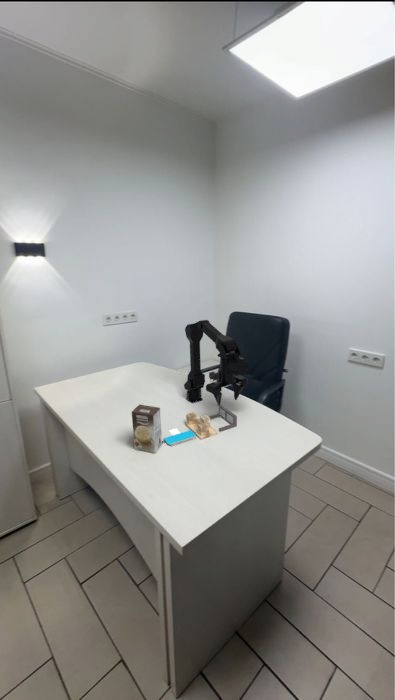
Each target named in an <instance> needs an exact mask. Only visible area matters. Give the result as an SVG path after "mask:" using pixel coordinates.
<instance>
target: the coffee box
mask: <svg viewBox="0 0 395 700" xmlns="http://www.w3.org/2000/svg"><path fill="white" fill-rule="evenodd" d="M161 418H162V417H161V408H160V407H157V406H152V405H150V406H149V405H147V404H146V405H144V404H140V403H139V404H138V405H137V406H136V407H135V408H134V409H133V410H132V411H131V420H132V432H133V433H132V434H133V445H134V450H136V451H142V452H147V453H151V454H156V453H157V452H158V450H159V449H160V448H161V447H162V445H163V444H162V441H163V438H162V420H161Z"/></svg>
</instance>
